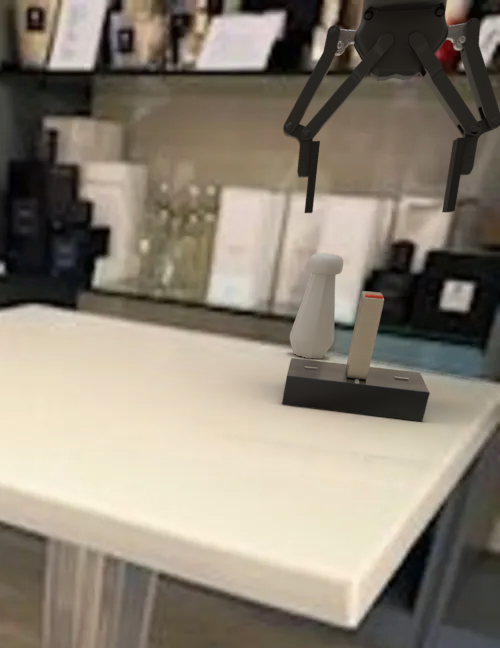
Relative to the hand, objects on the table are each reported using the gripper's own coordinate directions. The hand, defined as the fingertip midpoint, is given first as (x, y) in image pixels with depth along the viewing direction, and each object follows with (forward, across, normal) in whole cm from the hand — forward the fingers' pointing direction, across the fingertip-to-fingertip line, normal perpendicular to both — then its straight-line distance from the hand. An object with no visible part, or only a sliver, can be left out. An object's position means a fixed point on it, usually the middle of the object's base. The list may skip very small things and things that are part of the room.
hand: (377, 212), depth 89 cm
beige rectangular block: (+16, 0, -2) cm, 16 cm away
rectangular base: (+19, 0, -2) cm, 19 cm away
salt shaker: (+17, -4, +25) cm, 31 cm away
